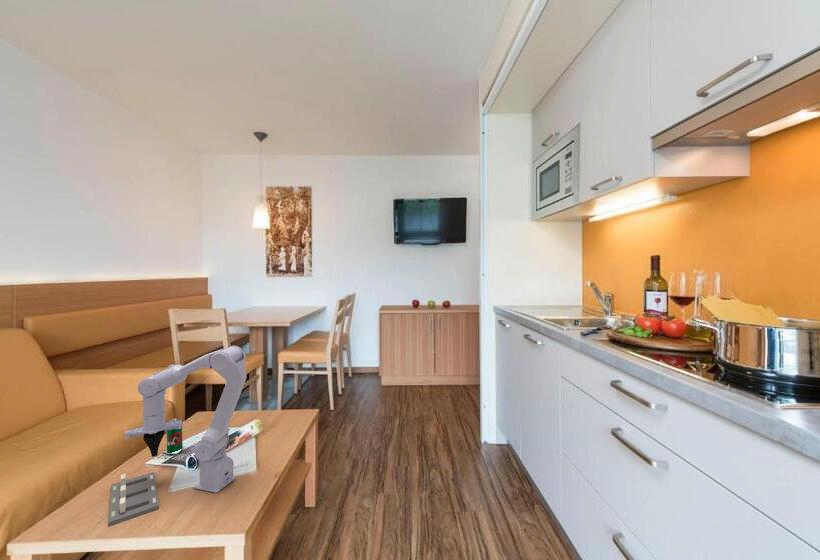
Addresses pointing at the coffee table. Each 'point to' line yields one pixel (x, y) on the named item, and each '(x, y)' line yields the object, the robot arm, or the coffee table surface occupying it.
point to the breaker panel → (133, 497)
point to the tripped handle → (122, 505)
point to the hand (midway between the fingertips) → (154, 455)
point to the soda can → (174, 438)
